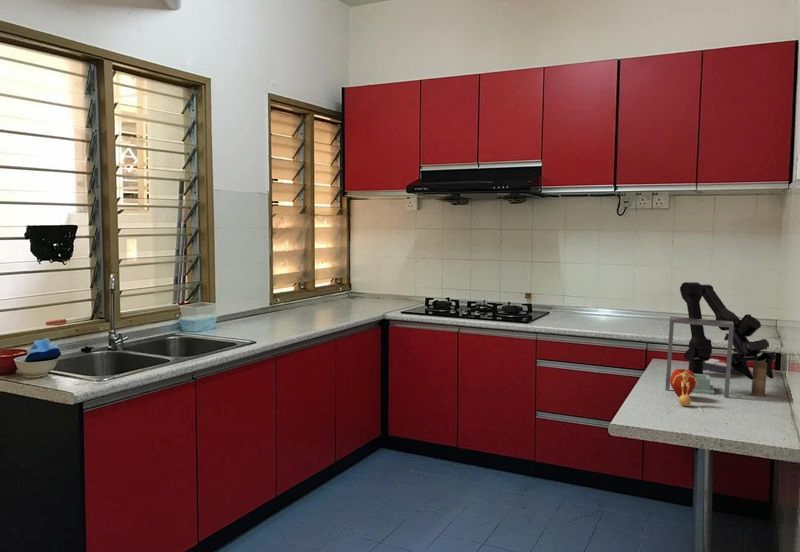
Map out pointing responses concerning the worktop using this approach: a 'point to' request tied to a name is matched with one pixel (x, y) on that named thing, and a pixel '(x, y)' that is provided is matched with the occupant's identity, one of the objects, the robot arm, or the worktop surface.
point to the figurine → (683, 399)
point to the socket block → (703, 384)
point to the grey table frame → (708, 323)
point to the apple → (677, 382)
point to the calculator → (718, 367)
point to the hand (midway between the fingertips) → (762, 378)
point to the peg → (759, 378)
